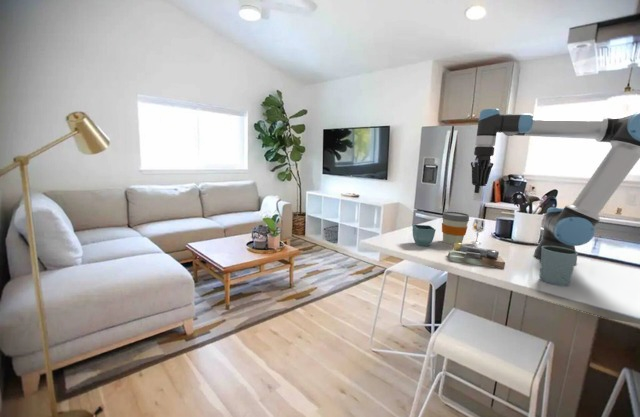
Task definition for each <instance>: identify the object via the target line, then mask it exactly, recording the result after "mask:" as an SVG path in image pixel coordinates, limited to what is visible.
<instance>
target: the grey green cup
mask: <svg viewBox="0 0 640 417" xmlns="http://www.w3.org/2000/svg"><path fill="white" fill-rule="evenodd" d="M578 255H579V252H578V251H574V250H572V249H568V248H564V247H558V246H542V248H541V259H540V270H539V273H540V274H539V279H540V280H541V281H542V282H544V283H546V284H551V285H554V286H559V287H568V286H569V285H570V283H571V280H572V274H573V271H574V267H575V265H576V264H575V262H576V258H577V259H578ZM576 263H577V262H576Z"/></svg>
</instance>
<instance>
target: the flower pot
mask: <svg viewBox="0 0 640 417" xmlns="http://www.w3.org/2000/svg"><path fill="white" fill-rule="evenodd" d="M436 230H437V229H435V227H432V226H431V225H428V224H427V225H423V224H412V238H413V241H414V243H415V244H416V245H417V246H421V247H422V246H424V247H429V246H430V245H431V243H432V242H433V241H434V238H435V234H436Z"/></svg>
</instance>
